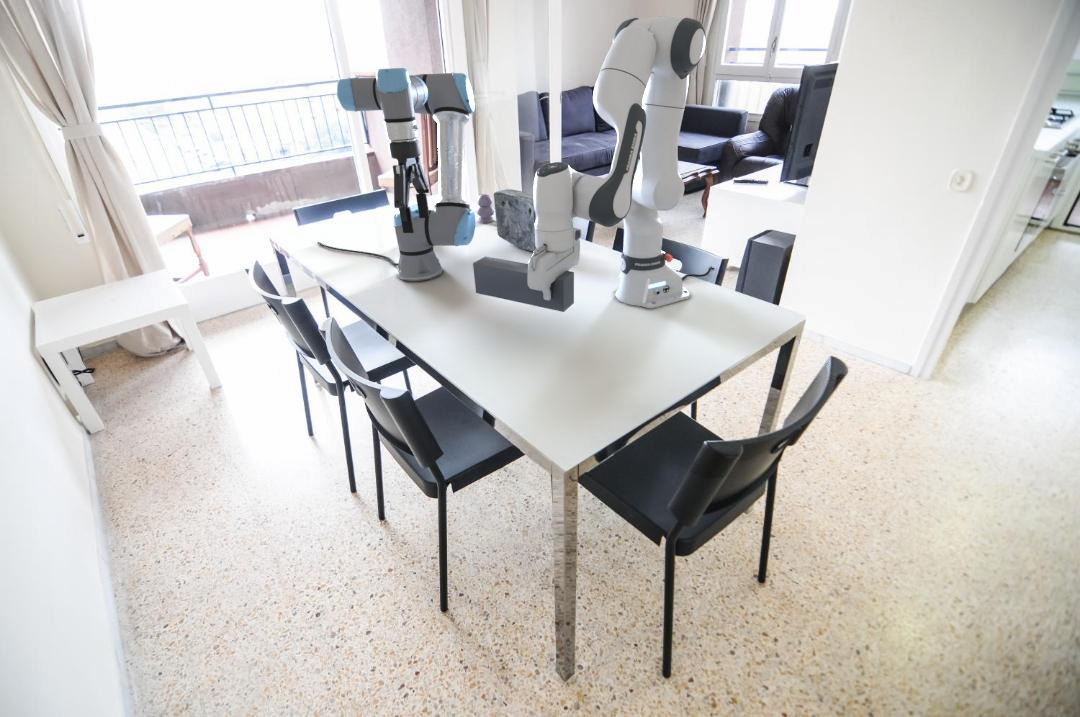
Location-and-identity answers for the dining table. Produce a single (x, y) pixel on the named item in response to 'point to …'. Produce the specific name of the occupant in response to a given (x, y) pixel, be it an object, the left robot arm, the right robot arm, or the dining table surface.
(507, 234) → the concrete block
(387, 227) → the dining table surface
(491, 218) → the purple stacked rounded piece
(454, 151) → the left robot arm
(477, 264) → the bar
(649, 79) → the right robot arm
